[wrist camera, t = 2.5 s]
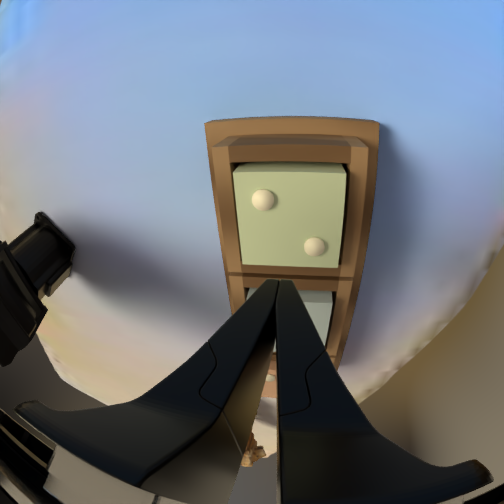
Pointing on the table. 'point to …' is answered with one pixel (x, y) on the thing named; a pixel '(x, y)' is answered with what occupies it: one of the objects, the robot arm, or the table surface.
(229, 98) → the table surface
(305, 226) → the button
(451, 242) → the table surface
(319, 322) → the button
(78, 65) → the table surface
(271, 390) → the three-pip button
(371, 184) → the button board
